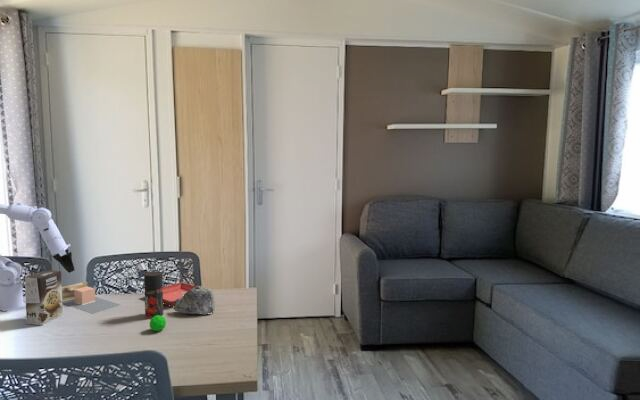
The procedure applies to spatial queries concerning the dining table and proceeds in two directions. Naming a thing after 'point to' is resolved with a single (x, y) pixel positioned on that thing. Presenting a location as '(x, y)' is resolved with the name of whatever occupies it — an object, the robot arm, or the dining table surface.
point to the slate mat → (92, 305)
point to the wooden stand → (71, 291)
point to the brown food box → (43, 297)
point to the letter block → (84, 295)
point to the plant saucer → (170, 291)
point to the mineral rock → (196, 301)
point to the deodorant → (153, 294)
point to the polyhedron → (157, 323)
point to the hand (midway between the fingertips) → (70, 270)
